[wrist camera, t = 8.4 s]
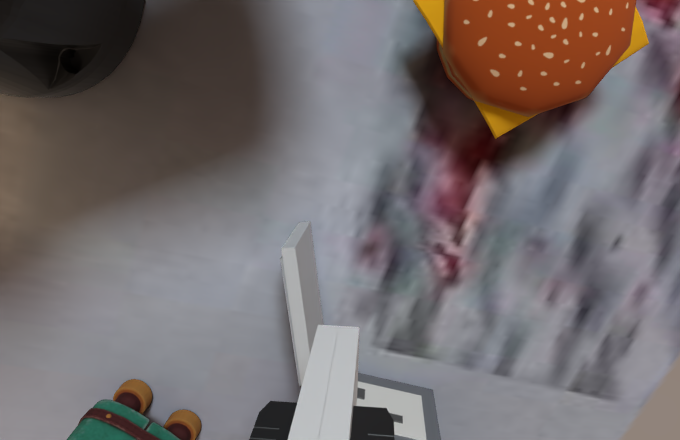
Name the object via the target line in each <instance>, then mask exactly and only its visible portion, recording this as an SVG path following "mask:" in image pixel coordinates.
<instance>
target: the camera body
mask: <svg viewBox="0 0 680 440" xmlns="http://www.w3.org/2000/svg"><path fill="white" fill-rule="evenodd" d="M356 406H364V407H379V408H387V410H388V412H389V413H390V415H391V417H392V418H393V420H394V438H395V440H441V437H440V431H439V425H438V419H437V412H436V406H435V400H434V394H433V390H431V389H427V388H422V387H418V386H413V385H409V384H404V383H400V382H396V381H391V380H387V379H382V378H378V377H374V376H369V375H365V374H360V373H358V390H357V404H356Z"/></svg>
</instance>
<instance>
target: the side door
mask: <svg viewBox="0 0 680 440" xmlns="http://www.w3.org/2000/svg"><path fill="white" fill-rule="evenodd" d="M281 251H282V257H281V258H280V261H281V268H282V275H283V282H284V288H285V295H286V302H287V308H288V315H289V322H290V329H291V335H292V342H293V349H294V355H295V362H296V369H297V375H298V382H299V386H302V383H303V380H304V376H305V372H306V368H307V364H308V361H309V357H310V353H311V349H312V346H313V342H314V338H315V334H316V330H317V327H318V325H324V323H323V316H322V308H321V300H320V292H319V284H318V277H317V269H316V261H315V253H314V245H313V238H312V230H311V222H310V221H309V222H299V223H298V224H297V226H296V227H295V229H294V230H293V232H292V233H291V235H290V236H289V238H288V239H287V241H286V242H285V244H284V245H283V246H282V248H281Z"/></svg>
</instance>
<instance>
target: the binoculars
mask: <svg viewBox="0 0 680 440" xmlns="http://www.w3.org/2000/svg"><path fill="white" fill-rule="evenodd" d="M151 401H152V392H151V390H150V388H149V386H148V385H147V384H146V383H144V382H143V381H140V380H136V379H131V380H128V381H126V382H124V383H123V384H122V385H121V387H120V388H119V389H118V390H117V391H116V393H115V394H114V397H113V401H112V400H101V401H99V402H97V403H96V405H95V406H94V407H93V408H91V409H90V410H89V411H88V412H87V413H86V414H85V415H84V416H83V417H82V418H81V419H80V422H79V424H78V426H77V427H76V429H75V430H74V431H73V432H72V434H71V435H70V436H69V437H68V439H67V440H195V439H196V437H197V436H198V434H199V432H200V430H201V422H200V419H199V418H198V416H197V415H196V414H195V413H193V412H191V411H188V410H178V411H176V412H174V413H173V414H171V416H170V417H169V419H168V420H167V422H166V423H165V425H164V428H163V427H161V426H160V425H158V424H156V423H154V422H153V423H151V424H150V425H149V427H148V428H147V430H146V431H145V430H144V429H145V428H146V426H147V425H148V423H149V422H150V421H149V419H148V418H146V417H145V416H143V415H142V413H144V411H145V410H146V409H147V408H148V406H149V405H150V403H151Z"/></svg>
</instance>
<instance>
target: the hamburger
mask: <svg viewBox="0 0 680 440" xmlns="http://www.w3.org/2000/svg"><path fill="white" fill-rule="evenodd" d="M413 2H414V3H415V5H416V6H417V8H418V9H419V11H420V12H421V14H422V15H423V17H424V18H425V20H426V21H427V23H428V25H429V26H430V28H431V30H432V31H433V33H434V34H435V36H436V38H437V51H438V54H439V57H440V59H441V62H442V65H443V68H444V70H445V73H446V76H447V78H448V79H449V80H450V81H451V82H452V83H453V84H454V85H455V86H456V87H457V88H458V89H459V90H460V91H461V92H462V93H463V94H464V95H465V96H466V97H467V98H468V99H471V100H473V101H474V102H475V103H476V105H477V107H478V108H479V110H480V112H481V114H482V115H483V117H484V119H485V120H486V122H487V124H488V126H489V128H490V130H491V132H492V134H493V136H494V137H495V139H496V138H498V137H500V136H501V135H503V134H505V133H506V132H508V131H510V130H512V129H513V128H515V127H517V126H518V125H520V124H522V123H523V122H525V121H527V120H529V119H530V118H532V117H534V116H535V115H537V114H539V113H542V112H545V111H548V110H551V109H554V108H557V107H560V106H563V105H566V104H569V103H572V102H575V101H578V100H581V99H584V98H586V97H587V96H588V95H589V94H590V93H591V92H592V91H593V90H594V88H595V87H596V86H597V85H598V84H599V82H600V81H601V80H602V79H603V77H604V76H605V75H606V74H607V73H608V71H609V70H610V69H611V68H612V67H614V66H615V65H617V64H618V63H620V62H621V61H623V60H625V59H626V58H628V57H629V56H631V55H632V54H634V53H635V52H637V51H638V50H640V49H641V48H643V47H644V46H646V45H647V44H649V42H648V39H647V35H646V32H645V29H644V25H643V21H642V19H641V17H640V15H639V13H638V11H637V9H636V0H414V1H413Z"/></svg>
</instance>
